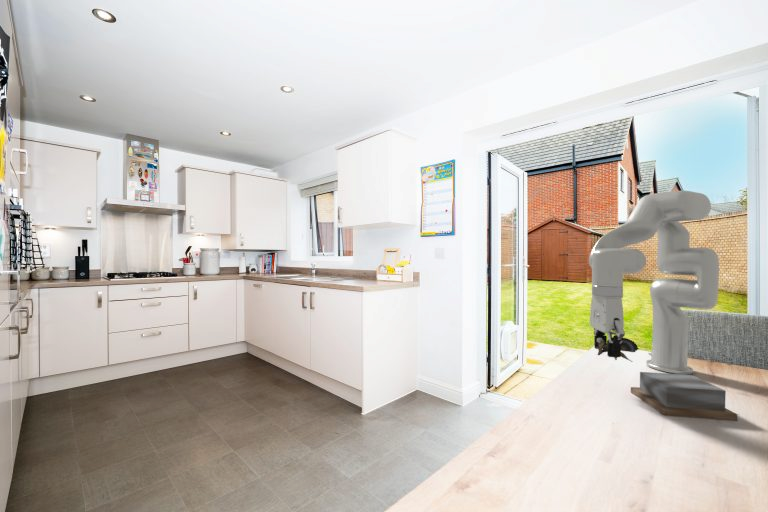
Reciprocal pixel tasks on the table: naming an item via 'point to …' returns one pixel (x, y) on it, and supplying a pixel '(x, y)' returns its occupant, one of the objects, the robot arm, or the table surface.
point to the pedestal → (683, 396)
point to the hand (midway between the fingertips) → (607, 352)
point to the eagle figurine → (625, 346)
